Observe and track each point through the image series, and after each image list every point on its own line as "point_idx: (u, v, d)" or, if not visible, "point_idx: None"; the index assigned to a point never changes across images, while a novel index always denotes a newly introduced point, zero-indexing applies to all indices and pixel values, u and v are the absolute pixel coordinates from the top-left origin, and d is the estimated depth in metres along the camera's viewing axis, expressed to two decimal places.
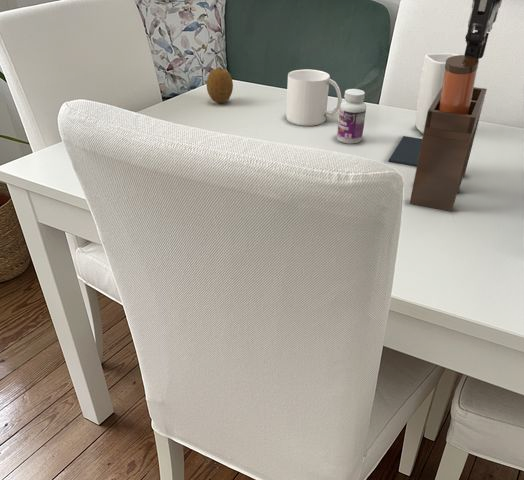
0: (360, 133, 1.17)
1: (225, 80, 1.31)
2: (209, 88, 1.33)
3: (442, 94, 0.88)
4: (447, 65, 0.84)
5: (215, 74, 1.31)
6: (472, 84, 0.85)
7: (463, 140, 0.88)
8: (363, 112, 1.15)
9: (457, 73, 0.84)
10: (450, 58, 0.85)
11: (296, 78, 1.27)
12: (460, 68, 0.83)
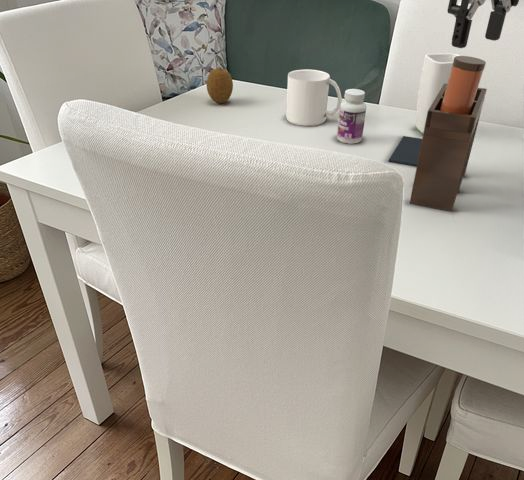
0: (360, 133, 1.17)
1: (225, 80, 1.31)
2: (209, 88, 1.33)
3: (446, 91, 0.88)
4: (456, 61, 0.85)
5: (215, 74, 1.31)
6: (477, 84, 0.86)
7: (463, 140, 0.88)
8: (363, 112, 1.15)
9: (465, 69, 0.84)
10: (458, 56, 0.86)
11: (296, 78, 1.27)
12: (468, 64, 0.84)
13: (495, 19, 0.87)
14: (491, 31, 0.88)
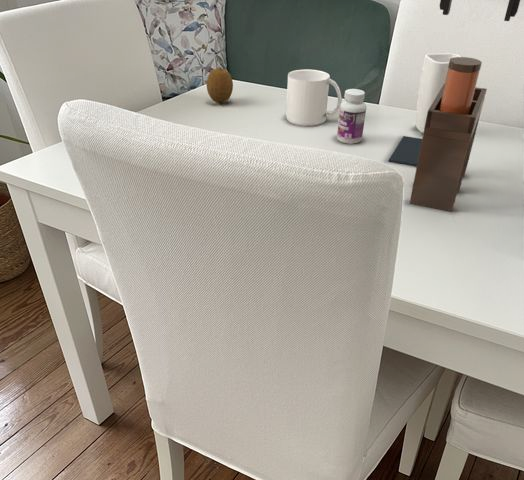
0: (360, 133, 1.17)
1: (225, 80, 1.31)
2: (209, 88, 1.33)
3: (444, 93, 0.88)
4: (451, 63, 0.85)
5: (215, 74, 1.31)
6: (474, 84, 0.86)
7: (463, 140, 0.88)
8: (363, 112, 1.15)
9: (461, 71, 0.84)
10: (453, 58, 0.86)
11: (296, 78, 1.27)
12: (464, 66, 0.84)
13: None
14: None
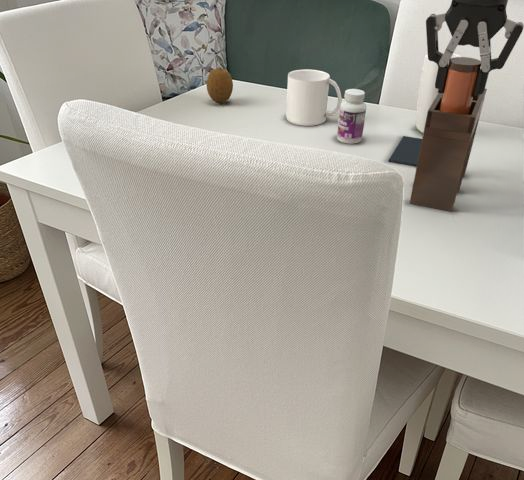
0: (360, 133, 1.17)
1: (225, 80, 1.31)
2: (209, 88, 1.33)
3: (444, 93, 0.88)
4: (451, 63, 0.85)
5: (215, 74, 1.31)
6: (474, 84, 0.86)
7: (463, 140, 0.88)
8: (363, 112, 1.15)
9: (461, 71, 0.84)
10: (453, 58, 0.86)
11: (296, 78, 1.27)
12: (464, 66, 0.84)
13: None
14: None
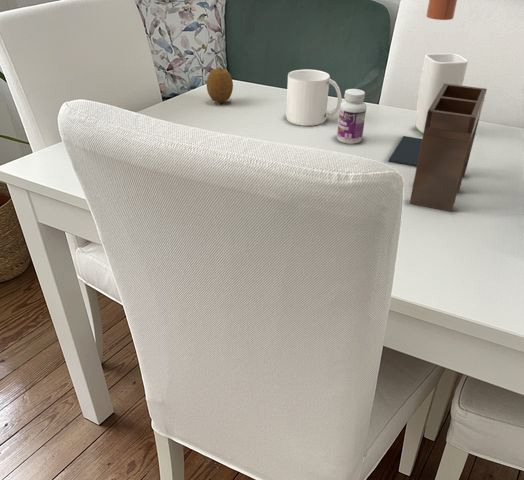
0: (360, 133, 1.17)
1: (225, 80, 1.31)
2: (209, 88, 1.33)
3: None
4: None
5: (215, 74, 1.31)
6: None
7: (463, 140, 0.88)
8: (363, 112, 1.15)
9: None
10: None
11: (296, 78, 1.27)
12: None
13: None
14: None
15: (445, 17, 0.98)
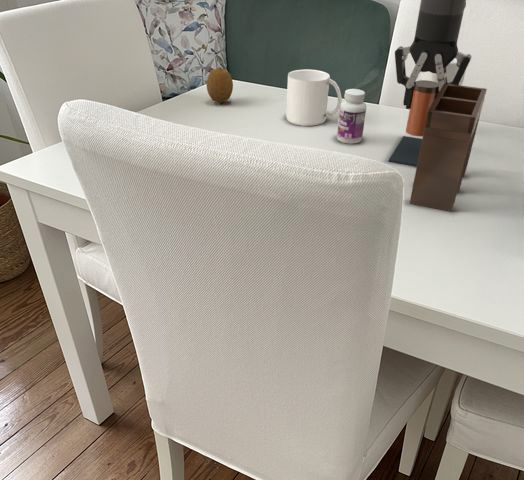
0: (360, 133, 1.17)
1: (225, 80, 1.31)
2: (209, 88, 1.33)
3: (410, 109, 1.10)
4: (415, 86, 1.06)
5: (215, 74, 1.31)
6: None
7: (463, 140, 0.88)
8: (363, 112, 1.15)
9: (423, 92, 1.06)
10: (417, 81, 1.08)
11: (296, 78, 1.27)
12: (425, 88, 1.05)
13: None
14: None
15: (422, 134, 1.11)
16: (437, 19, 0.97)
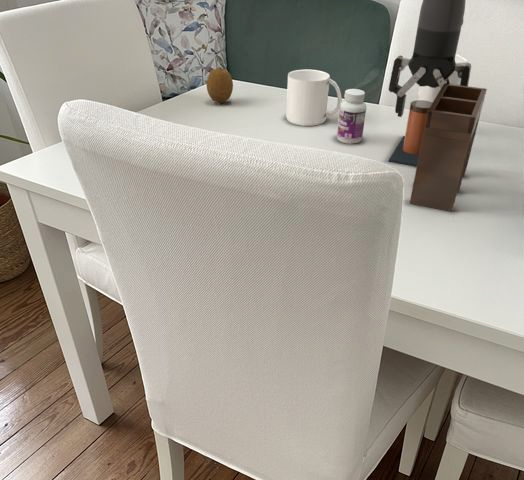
0: (360, 133, 1.17)
1: (225, 80, 1.31)
2: (209, 88, 1.33)
3: (407, 128, 1.12)
4: (411, 106, 1.09)
5: (215, 74, 1.31)
6: None
7: (463, 140, 0.88)
8: (363, 112, 1.15)
9: (419, 112, 1.08)
10: (414, 101, 1.10)
11: (296, 78, 1.27)
12: (421, 108, 1.08)
13: None
14: None
15: (418, 152, 1.13)
16: (435, 36, 0.98)
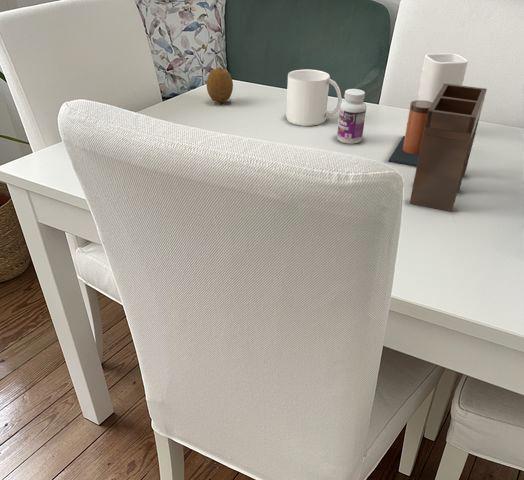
0: (360, 133, 1.17)
1: (225, 80, 1.31)
2: (209, 88, 1.33)
3: (407, 128, 1.12)
4: (411, 106, 1.09)
5: (215, 74, 1.31)
6: None
7: (463, 140, 0.88)
8: (363, 112, 1.15)
9: (419, 112, 1.08)
10: (414, 101, 1.10)
11: (296, 78, 1.27)
12: (421, 108, 1.08)
13: None
14: None
15: (418, 152, 1.13)
16: None
